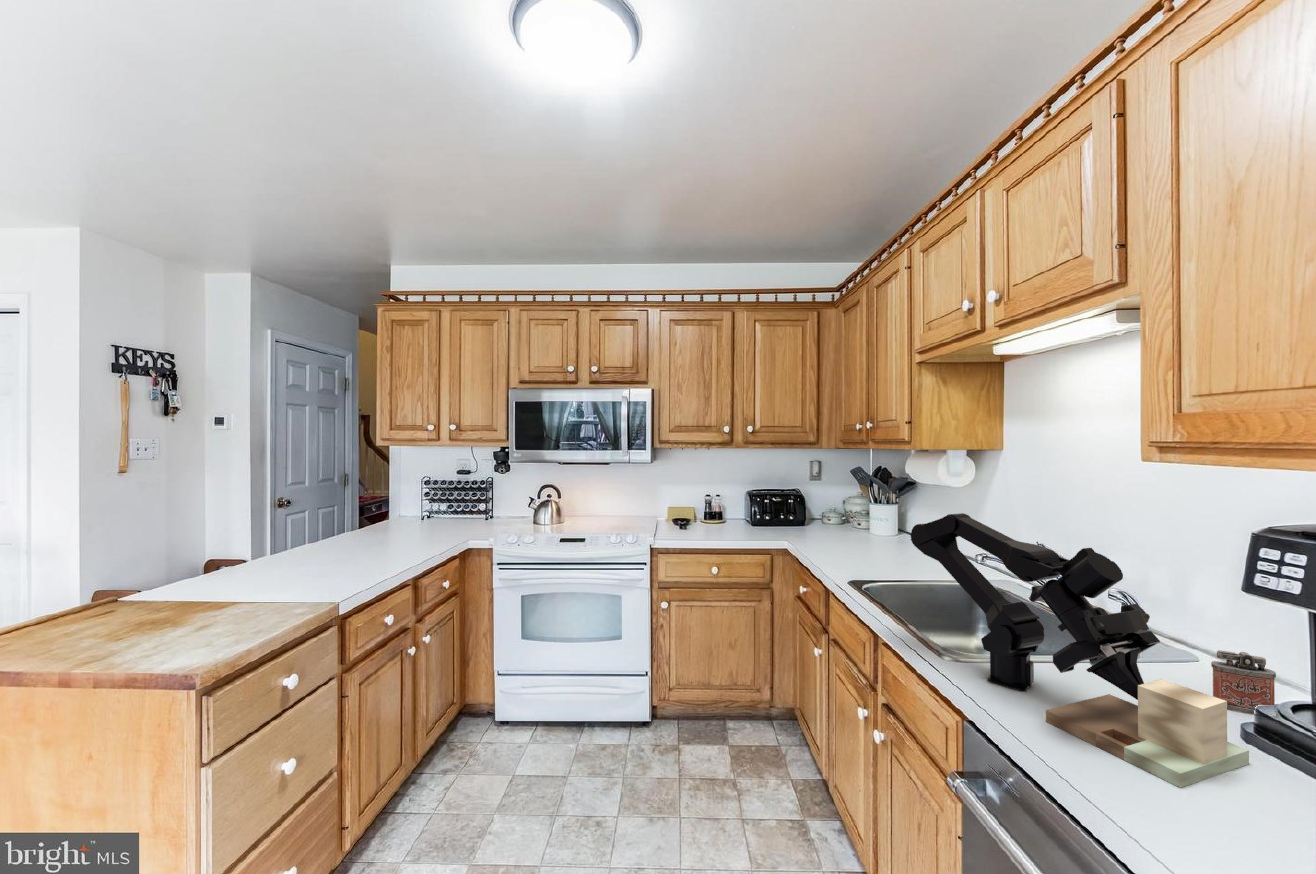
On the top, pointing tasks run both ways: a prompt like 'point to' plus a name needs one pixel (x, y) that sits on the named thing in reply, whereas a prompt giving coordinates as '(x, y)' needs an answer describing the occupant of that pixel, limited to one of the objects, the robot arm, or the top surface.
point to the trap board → (1136, 740)
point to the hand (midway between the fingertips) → (1147, 702)
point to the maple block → (1183, 720)
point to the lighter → (1243, 681)
